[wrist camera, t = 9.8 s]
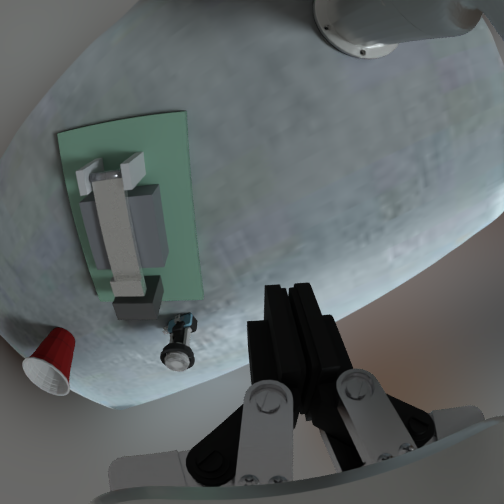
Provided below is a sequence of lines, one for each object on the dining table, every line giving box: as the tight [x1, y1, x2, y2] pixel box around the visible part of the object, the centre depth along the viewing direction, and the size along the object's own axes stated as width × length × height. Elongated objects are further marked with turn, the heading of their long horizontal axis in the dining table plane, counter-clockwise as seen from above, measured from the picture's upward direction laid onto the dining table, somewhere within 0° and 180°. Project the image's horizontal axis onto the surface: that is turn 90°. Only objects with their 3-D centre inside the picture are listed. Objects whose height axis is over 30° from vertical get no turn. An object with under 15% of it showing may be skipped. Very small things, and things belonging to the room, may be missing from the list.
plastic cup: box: [23, 327, 75, 396], centre depth 46 cm, size 11×11×12 cm
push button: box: [160, 313, 197, 372], centre depth 46 cm, size 7×5×10 cm
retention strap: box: [89, 169, 147, 297], centre depth 33 cm, size 17×4×2 cm, turn 0°
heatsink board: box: [57, 111, 204, 320], centre depth 36 cm, size 28×18×8 cm, turn 1°
